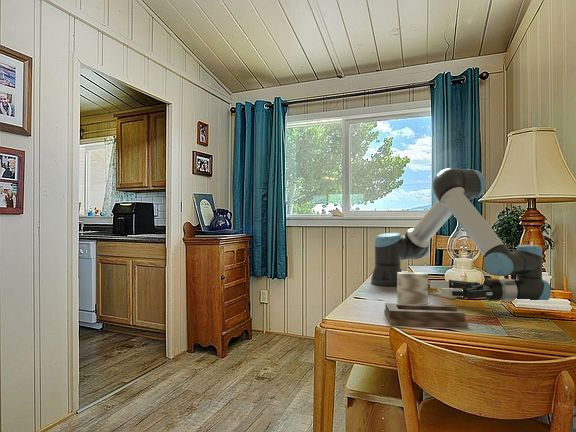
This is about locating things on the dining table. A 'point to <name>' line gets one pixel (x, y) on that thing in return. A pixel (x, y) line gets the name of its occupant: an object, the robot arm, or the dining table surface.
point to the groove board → (425, 315)
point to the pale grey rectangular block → (412, 288)
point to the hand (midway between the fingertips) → (435, 288)
